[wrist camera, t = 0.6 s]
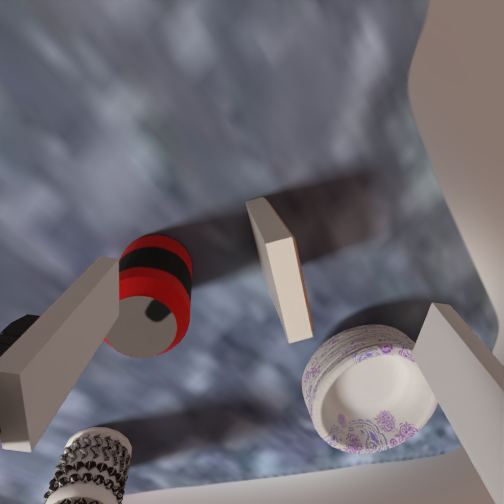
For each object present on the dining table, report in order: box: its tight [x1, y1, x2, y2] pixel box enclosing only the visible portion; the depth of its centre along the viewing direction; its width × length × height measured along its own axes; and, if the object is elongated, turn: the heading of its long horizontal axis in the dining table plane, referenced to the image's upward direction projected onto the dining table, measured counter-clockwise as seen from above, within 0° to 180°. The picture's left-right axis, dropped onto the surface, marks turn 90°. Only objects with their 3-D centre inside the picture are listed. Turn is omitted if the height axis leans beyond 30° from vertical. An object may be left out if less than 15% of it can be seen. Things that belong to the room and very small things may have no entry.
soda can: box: [104, 235, 192, 358], centre depth 34 cm, size 8×8×12 cm
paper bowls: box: [302, 324, 438, 454], centre depth 44 cm, size 15×15×8 cm
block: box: [245, 197, 314, 343], centre depth 34 cm, size 2×9×13 cm, turn 14°
